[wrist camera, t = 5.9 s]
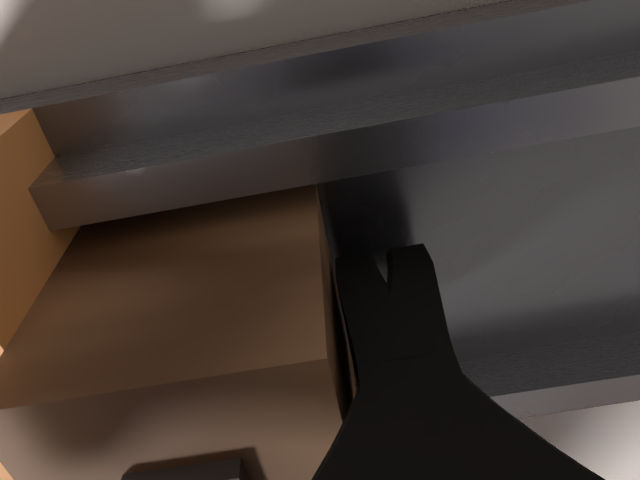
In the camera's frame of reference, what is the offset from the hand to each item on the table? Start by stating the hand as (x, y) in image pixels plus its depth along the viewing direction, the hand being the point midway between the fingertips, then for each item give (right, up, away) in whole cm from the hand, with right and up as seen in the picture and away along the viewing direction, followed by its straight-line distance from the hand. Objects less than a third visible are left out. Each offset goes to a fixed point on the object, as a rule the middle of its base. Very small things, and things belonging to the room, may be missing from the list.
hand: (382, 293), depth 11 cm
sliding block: (-3, 0, +1) cm, 3 cm away
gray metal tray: (0, +1, +1) cm, 2 cm away
